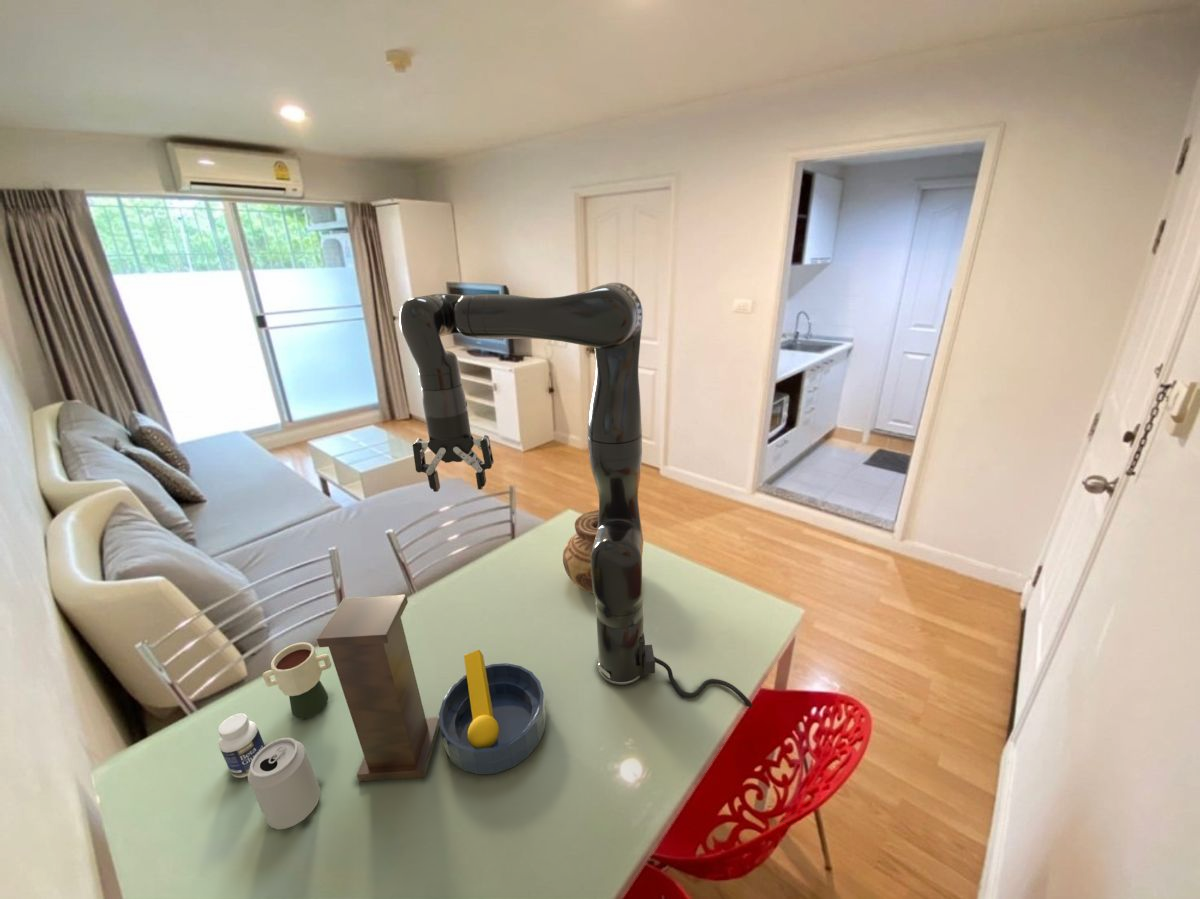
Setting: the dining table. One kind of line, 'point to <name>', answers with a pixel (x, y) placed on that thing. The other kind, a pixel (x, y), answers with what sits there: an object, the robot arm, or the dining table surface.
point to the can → (284, 783)
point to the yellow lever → (480, 703)
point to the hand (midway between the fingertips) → (459, 488)
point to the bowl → (512, 709)
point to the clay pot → (581, 550)
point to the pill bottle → (239, 743)
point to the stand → (380, 687)
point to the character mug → (300, 678)
